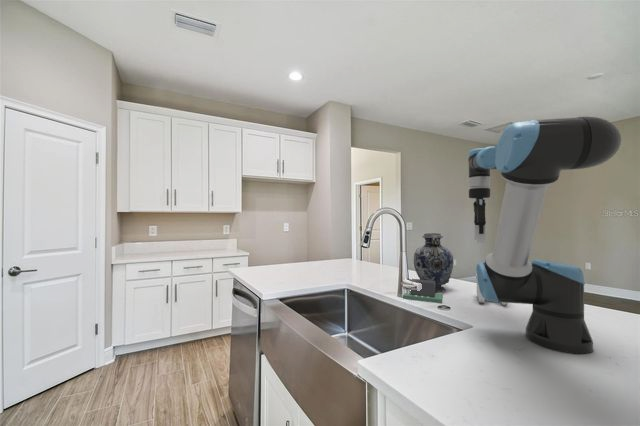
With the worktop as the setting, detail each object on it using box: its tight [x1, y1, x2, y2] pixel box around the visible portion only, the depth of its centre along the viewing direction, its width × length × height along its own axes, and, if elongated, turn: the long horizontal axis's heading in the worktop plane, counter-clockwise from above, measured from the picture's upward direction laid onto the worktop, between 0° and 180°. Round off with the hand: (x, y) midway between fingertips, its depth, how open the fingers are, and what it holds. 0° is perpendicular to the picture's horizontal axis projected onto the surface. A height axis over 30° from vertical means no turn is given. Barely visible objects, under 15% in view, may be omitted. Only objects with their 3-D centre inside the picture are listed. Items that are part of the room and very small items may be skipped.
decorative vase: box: [413, 232, 454, 292], centre depth 144 cm, size 21×19×28 cm
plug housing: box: [410, 278, 436, 297], centre depth 129 cm, size 10×6×6 cm, turn 65°
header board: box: [402, 291, 444, 304], centre depth 129 cm, size 10×16×5 cm, turn 65°
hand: (479, 241), depth 114 cm, fingers open, 13 cm apart
